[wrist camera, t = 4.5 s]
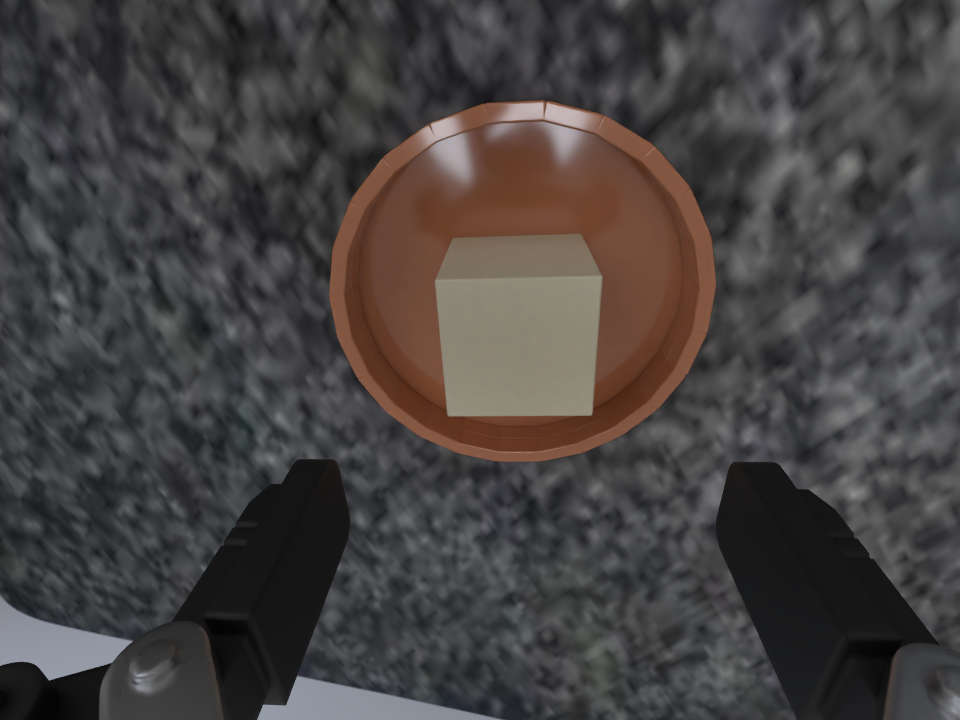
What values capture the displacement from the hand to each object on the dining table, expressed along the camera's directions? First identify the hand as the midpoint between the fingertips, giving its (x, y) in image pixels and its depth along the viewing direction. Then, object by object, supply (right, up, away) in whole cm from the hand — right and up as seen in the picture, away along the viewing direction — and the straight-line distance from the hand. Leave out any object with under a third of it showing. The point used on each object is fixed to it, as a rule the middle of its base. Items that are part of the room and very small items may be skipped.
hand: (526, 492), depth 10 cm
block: (+1, +5, +10) cm, 11 cm away
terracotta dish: (+1, +6, +10) cm, 12 cm away
